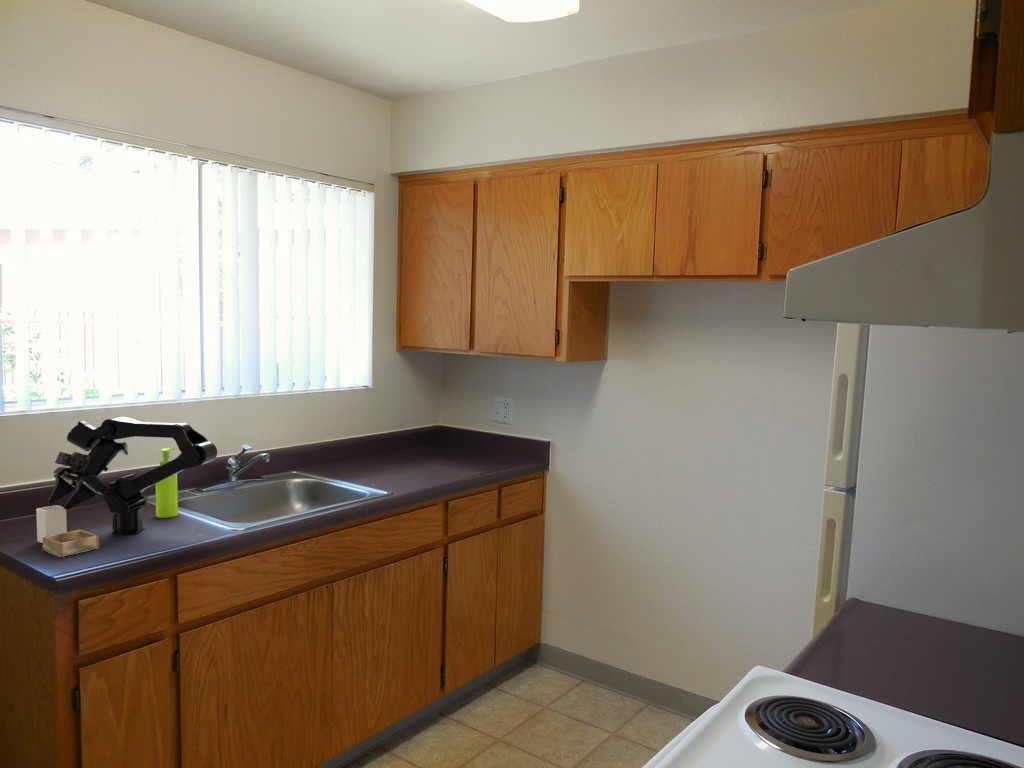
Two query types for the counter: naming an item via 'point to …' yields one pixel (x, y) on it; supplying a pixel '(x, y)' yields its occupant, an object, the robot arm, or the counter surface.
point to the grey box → (50, 521)
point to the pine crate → (70, 542)
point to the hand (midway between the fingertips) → (56, 506)
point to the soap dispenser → (167, 492)
